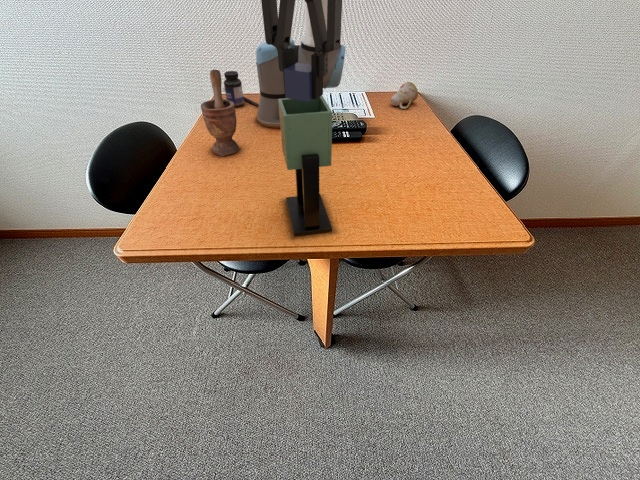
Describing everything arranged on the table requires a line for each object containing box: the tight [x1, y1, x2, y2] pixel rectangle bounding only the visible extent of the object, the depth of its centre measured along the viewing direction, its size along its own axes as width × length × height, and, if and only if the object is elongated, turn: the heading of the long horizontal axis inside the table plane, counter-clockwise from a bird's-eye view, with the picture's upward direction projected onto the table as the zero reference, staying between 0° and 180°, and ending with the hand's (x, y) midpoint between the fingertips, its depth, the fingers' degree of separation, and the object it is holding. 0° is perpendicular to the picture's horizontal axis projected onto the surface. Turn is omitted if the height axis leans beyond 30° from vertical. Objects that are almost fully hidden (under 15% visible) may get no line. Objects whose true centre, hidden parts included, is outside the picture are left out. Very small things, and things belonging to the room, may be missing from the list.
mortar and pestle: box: [200, 69, 240, 157], centre depth 93 cm, size 12×9×20 cm
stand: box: [285, 154, 333, 237], centre depth 69 cm, size 8×13×17 cm, turn 11°
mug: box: [390, 81, 419, 110], centre depth 124 cm, size 8×10×10 cm
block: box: [284, 63, 313, 102], centre depth 56 cm, size 4×4×4 cm
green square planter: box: [278, 95, 333, 171], centre depth 62 cm, size 8×8×10 cm
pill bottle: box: [223, 70, 245, 108], centre depth 122 cm, size 6×6×11 cm
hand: (303, 94), depth 58 cm, fingers closed on block, 4 cm apart
